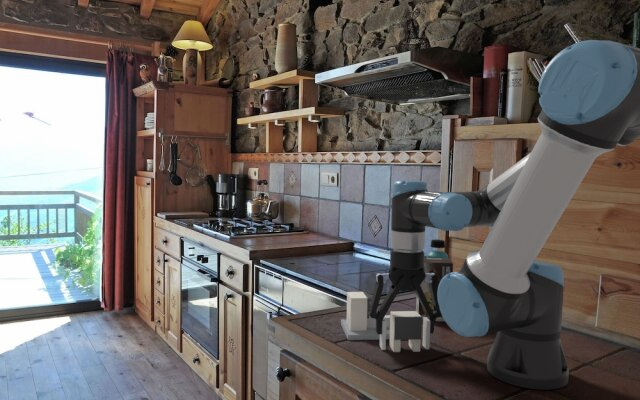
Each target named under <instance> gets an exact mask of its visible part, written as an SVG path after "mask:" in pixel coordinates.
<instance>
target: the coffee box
mask: <svg viewBox="0 0 640 400" xmlns="http://www.w3.org/2000/svg"><path fill="white" fill-rule="evenodd" d="M424 272H425V273H434V274H436V275H437V276H438V280H437V288H438V286H439V283H440V281H441V279H442V278H443V277H444V276H445V275H447V274H449V273H451V272H454V262H453V261H452V259H451V258H449V257H448V258H427V257H424ZM420 286H421V288H422V290H423V293H424V295H425V297H426V299H427V301H428V303H429V305H430V307H431V309H432V311H434V308H433V303H432V299H431V294H430V289H429V284H428V282H427V281H426V278H425V279H424V280H423V282H422V283H421V284H420ZM415 295H416V294H415ZM415 298H416V300H415V302H416V303H415V304H416V306H415V311H416V312H417V313H418V314H419V315H420V316H421V317H422V322H423V317H427V315H426V313H425V311H424V309H423V307H422V305H421V303H420V301H419V299H418V297H417V295H416V297H415ZM435 322H446V321H445V320H444V318H443V316H442V317H438V318H436V321H435Z"/></svg>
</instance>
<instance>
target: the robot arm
mask: <svg viewBox="0 0 640 400" xmlns="http://www.w3.org/2000/svg"><path fill="white" fill-rule="evenodd" d="M537 88H538V91H537V93H538V94H539V95H540V96H539V99H538V102H539V105H540V107H541V110H540V112H539V114H538V117H537V122H538V124H539V126H540V129H541V133H540V135H539V137H538V139H537V140H536V142H535V145H534V147H533V149H531V152H529V153H528V154H527V155H525V156H524V157H523V158H521V159H520V160H518V161H517V162H516V163H514V164H513V165H511V166H510V167H509V168H508V169H507V170H506V171H504V172H503V173H501V174H499V176H497V177H496V178H494V179H493V180H492V181H490V182H489V183H488V184H486V185H485V186H484V187H483V188H481V189H479V190H477V191H429V190H428V186H427V182H426V181H424V180H410V179H409V180H407V179H405V180H402V179H401V180H396V181H394V183H393V184H392V193H391V199H390V200H391V220H390V221H391V225H390V226H391V227H390V228H391V231H390V232H391V233H390V247H391V248H392V249H391V250H390V253H389V254H390V256H389V269H388V270H389V271H388V272H387V273H381V272H376V273H375V285H374V290H373V293H372V295H371V299H370V306H369V310H368V314H369V316H370V317H371V318H374V319H376V332H377V334H380V340H379V347H380V349H381V350H382V351H386V349H387V348H386V345H387V343H386V341H387V339H386V320H385V319H384V317H385V315H387V313H388V311H389V309H390V308H391V306H392V304H393V302H394V301H395V299H396V296H398V295H399V293H400V292H407V291H408V292H414V293H415V295H417V297H418V299H419V301H420V303H421V305H422V307H423V309H424V311H425V313H426V315H427V317H423V321H422V347H424V349H425V350H430V343H431V342H430V340H431V338H430V337H431V336H430V335H431V334H434V332H435V322H437V321H436V318H438V317H442V316H443V318H444V320H445V321H444V322H445V323H446V324H447V326H448V327H449V328H450V329H451V330H452V331H454V333H456V334H457V335H459V336H462V337H467V338H471V337H483V336H485V335H486V336H487V335H489V334H494V333H496V335H495V337H494V339H493V343H492V345H491V347H490V350H489V353H488V355H487V361H486V362H487V363H486V366H487V367H486V368H487V371H488V372H489V374H490V375H491V376H492V377H494V378H495V379H498V380H499V381H501V382H503V383H506V384H509V385H513V386H515V387H519V388H525V389H531V390H533V389H534V390H539V391H541V390H545V391H547V390H549V391H550V390H557V389H561V388H564V387H565V386H567V385H568V383H569V376H570V375H569V373H570V370H569V366H568V362H567V359H566V355H565V352H564V349H563V345H562V341H561V338H562V337H561V334H562V320H563V318H562V317H563V305H564V304H563V303H564V302H563V301H564V289H565V283H564V282H565V281H564V280H565V279H564V278H565V277H564V274H565V273H564V270H563V269H562V268H561V266H559V265H557V264H554V263H550V262H546V261H541V260H540V261H539V260H536V258H537V257H538V255H539V254H540V252H541V251H542V249H543V247H544V245H545V244H546V242H547V240H548V238H549V237H550V235H551V234H552V231H553V230H554V228H555V227H556V225H557V223H558V222H559V220H560V218H561V217H562V215H563V213H564V212H565V211H566V208H567V207H568V205H569V203H570V202H571V200H572V198H573V197H574V195H575V193H576V192H577V191H578V189H579V187H580V185H581V183H582V182H583V180H584V179H585V177H586V176H587V173H588V172H589V170H590V168H591V167H592V165H593V163H594V162H595V160H596V159H597V158H598V157H600V156H601V155H603V154H605V153H608V152H609V153H610V152H612V151H614V150H615V149H616V146H620V147H625V146H626V147H627V146H628V145H630V144H632V143H633V142H635V141H636V140H638V139H639V138H640V48H639V47H635V46H632V45H627V44H623V43H620V42H616V41H613V40H598V39H588V40H582V41H578V42H575V43H573V44H571V45H569V46H566V47H565V48H564V49H562V50H560V52H558V53H557V54H556V55H554V57H553V58H552V59H551V60H550V61H549V62H548V64H547V65H546V67H545V68H544V70H543V72H542V74H541V77H540V79H539V84H538V87H537ZM426 227H429V228H433V229H438V230H441V231H444V232H447V231H453V232H458V231H459V232H460V231H462V230H464V229H465V228H470V227H471V228H472V227H473V228H474V227H491V229H490V231H489V233H488V235H487V237H486V238H485V240H484V243H483V245H482V247H481V248H480V249H475V250H472V251H470V252H469V253H468V254H467V256H466V258H465V260H464V261H463V264H462V266H461V268H460V270H459V271H453V272H451V273H449V274H447V275H445V276H444V277H443V278H442V279H441V281H440V283H439V286H438V288H437V280H438V276H437V275H436V274H434V273H425V272H424V258H425V252H424V249H425V248H426ZM425 278H426V281H427V282H428V284H429V289H430V294H431V299H432V303H433V308H434V311H432V309H431V307H430V305H429V303H428V301H427V299H426V297H425V295H424V293H423V290H422V288H421V286H420V284H421V283H422V282H423V280H424V279H425ZM388 279H389V281H390V282H391V285H390V286H389V289H388V292H387V293H386V295H385V297H384V299H383V300H382V303H381V304H380V305H379V303H380V300H381V297H382V293H383V290H384V285H385V284H386V283H387V280H388ZM378 307H379V308H378Z"/></svg>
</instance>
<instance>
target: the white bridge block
mask: <svg viewBox="0 0 640 400" xmlns="http://www.w3.org/2000/svg"><path fill="white" fill-rule="evenodd" d="M389 313H390V314H389V315H390V339H389V344H388V345H389V348H391V350H392V352H393V353H400V352H401V345H402V344H401V340H402V341H403V340H408V346H409V348H410V349H411V351H412V352H413V353H414V352H418V353H419V352H421V340H422V335H423V321H422V317H421V316H420V315H419V314H418V313H417V312H416V310H404V311H403V310H402V311H401V310H400V311H399V310H397V311H391V310H390V312H389Z"/></svg>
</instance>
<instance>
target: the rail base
mask: <svg viewBox="0 0 640 400" xmlns="http://www.w3.org/2000/svg"><path fill="white" fill-rule="evenodd" d="M370 303H371V299H370V295H368V294H367V292H366V291H347V292H346V318H345V319H340V325H341V327H342V329H343V332H344V334H345V337H346V338H347V341H368V340H370V341H373V340H375V341H376V340H377V341H378V340H379V341H380V334H377V332H376V319H374V318H371V317H370V316H369V314H368V310H369V306H370ZM384 319H385V320H386V340H390V314H388V315H387V314H386V315H385V317H384Z"/></svg>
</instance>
